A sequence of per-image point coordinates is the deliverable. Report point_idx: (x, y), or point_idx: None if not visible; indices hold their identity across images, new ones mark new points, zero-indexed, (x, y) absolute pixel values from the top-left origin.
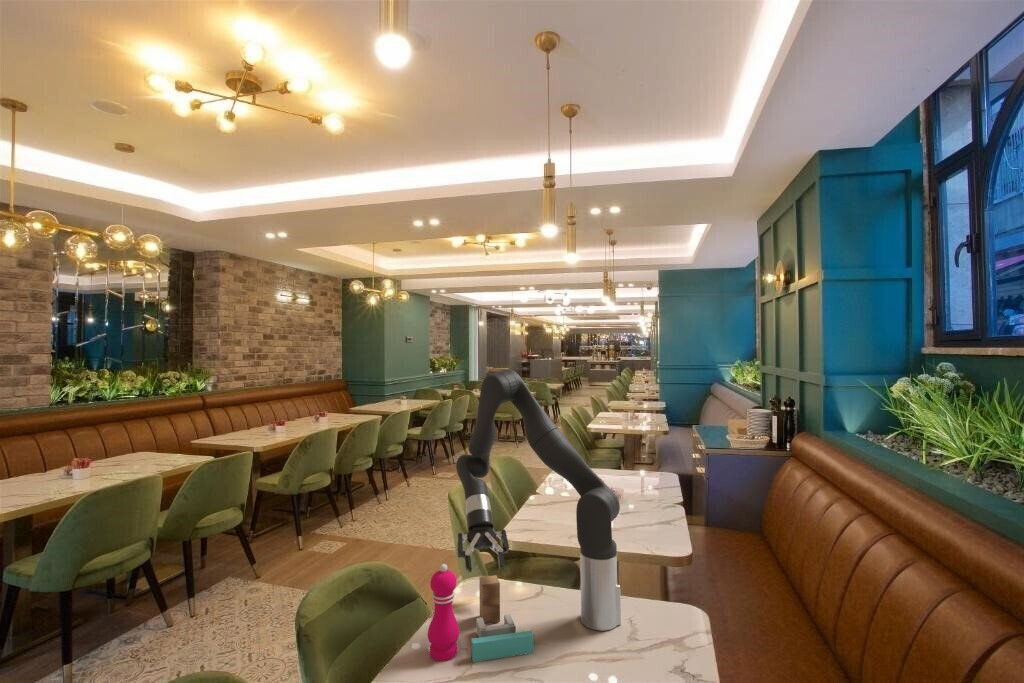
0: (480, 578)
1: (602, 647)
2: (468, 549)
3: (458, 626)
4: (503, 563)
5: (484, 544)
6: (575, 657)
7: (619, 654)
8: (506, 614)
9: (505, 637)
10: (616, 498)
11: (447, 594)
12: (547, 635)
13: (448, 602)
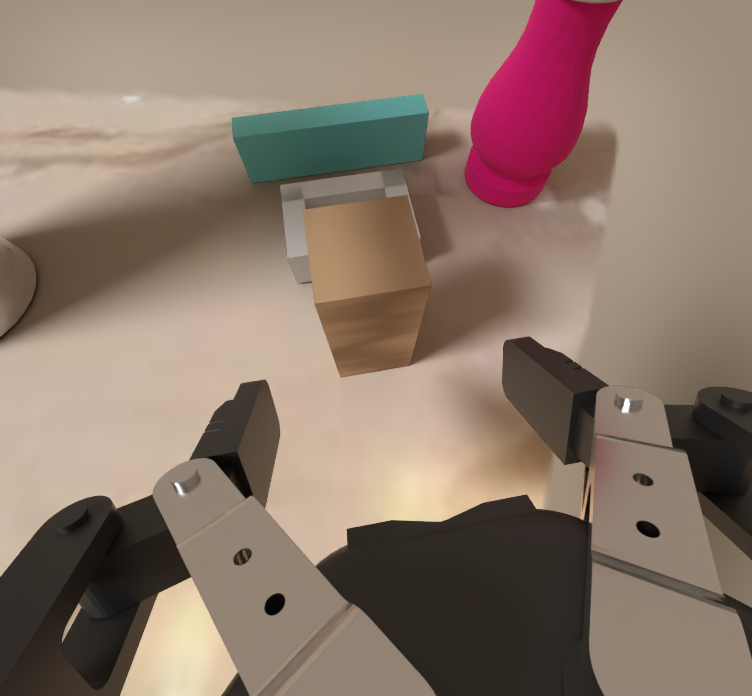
0: (423, 265)
1: (50, 176)
2: (648, 431)
3: (480, 110)
4: (228, 406)
5: (424, 539)
6: (145, 145)
7: (24, 150)
8: (301, 255)
9: (322, 111)
10: None
11: None
12: (185, 235)
13: None
